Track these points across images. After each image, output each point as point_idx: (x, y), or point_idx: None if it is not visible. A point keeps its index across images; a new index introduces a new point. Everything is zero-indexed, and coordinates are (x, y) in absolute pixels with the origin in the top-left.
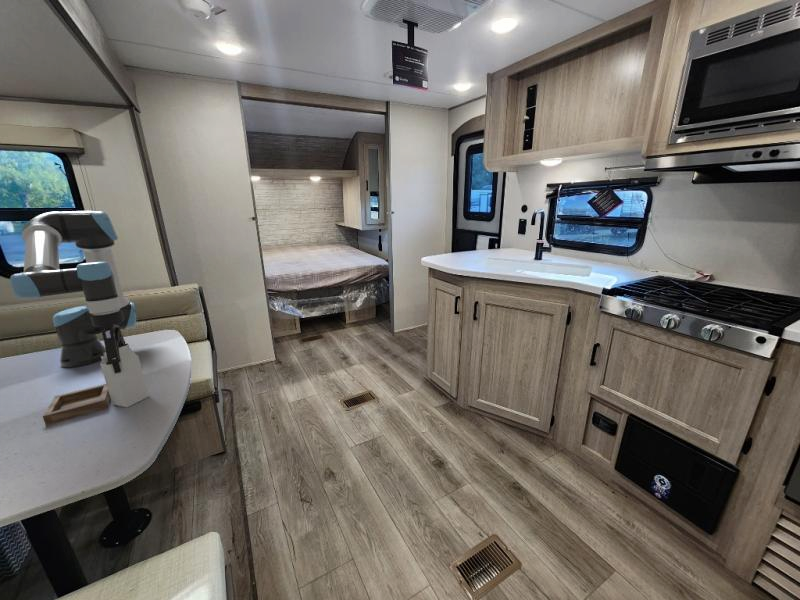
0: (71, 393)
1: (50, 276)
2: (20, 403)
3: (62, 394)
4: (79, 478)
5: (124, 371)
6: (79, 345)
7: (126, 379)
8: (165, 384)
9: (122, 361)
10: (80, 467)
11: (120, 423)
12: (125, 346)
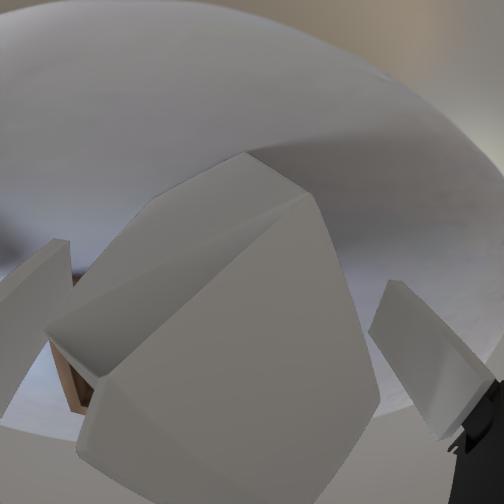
0: (73, 387)
1: None
2: (37, 423)
3: (67, 400)
4: (494, 320)
5: (428, 315)
6: None
7: (404, 283)
8: (155, 72)
9: (357, 368)
10: (473, 324)
11: (388, 264)
12: (152, 477)
